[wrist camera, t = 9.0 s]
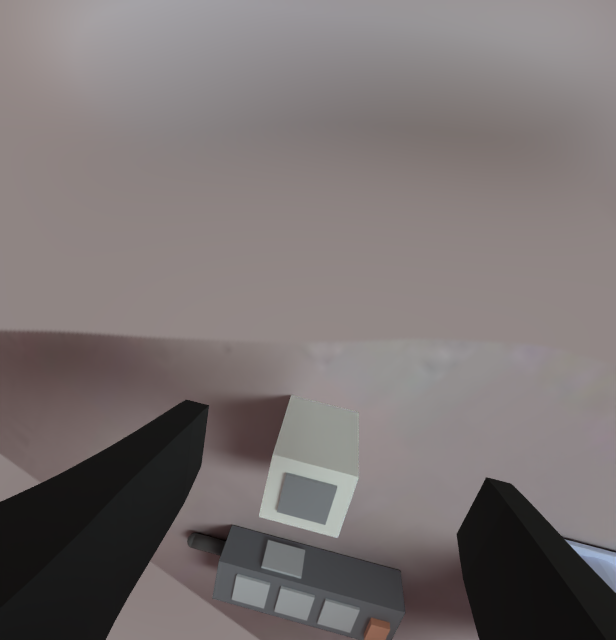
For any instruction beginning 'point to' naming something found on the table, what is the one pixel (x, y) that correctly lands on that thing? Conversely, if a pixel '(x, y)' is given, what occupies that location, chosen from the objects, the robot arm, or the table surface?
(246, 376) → the table surface
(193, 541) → the power strip
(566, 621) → the robot arm
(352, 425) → the charger plug
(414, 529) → the table surface
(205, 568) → the table surface
